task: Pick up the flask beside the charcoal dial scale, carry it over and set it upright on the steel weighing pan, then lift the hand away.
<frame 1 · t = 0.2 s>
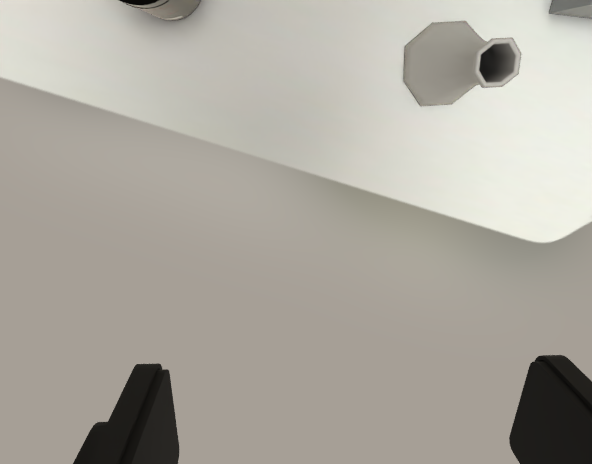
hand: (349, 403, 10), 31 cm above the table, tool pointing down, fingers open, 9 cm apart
flask: (440, 65, 36), on the table
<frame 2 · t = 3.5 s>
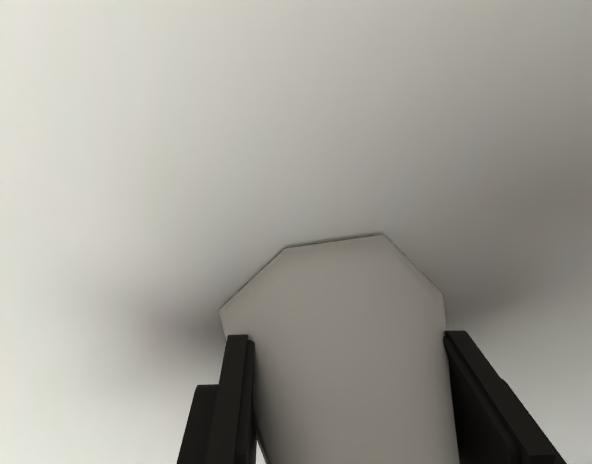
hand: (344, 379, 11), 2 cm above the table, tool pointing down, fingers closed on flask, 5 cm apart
flask: (333, 331, 13), on the table, touching gripper
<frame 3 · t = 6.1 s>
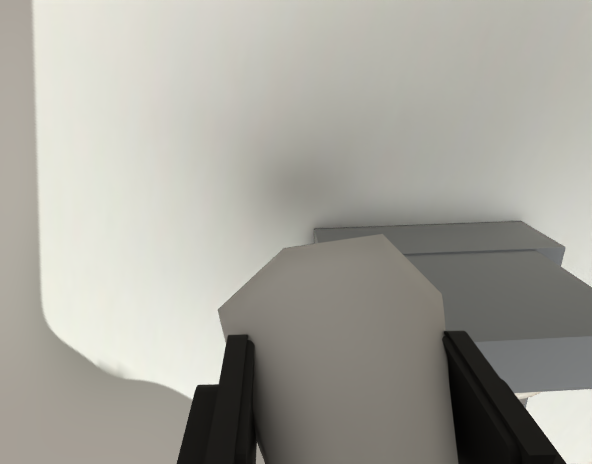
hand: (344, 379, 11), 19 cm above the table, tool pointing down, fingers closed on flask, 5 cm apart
flask: (333, 331, 13), point 17 cm above the table, touching gripper
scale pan: (434, 394, 28), point 6 cm above the table, slide at 0.2 cm
scale: (407, 339, 34), on the table
when the fingers open (10 cm above the table, at t = 9.1 s): flask drops 2 cm, resting on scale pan.
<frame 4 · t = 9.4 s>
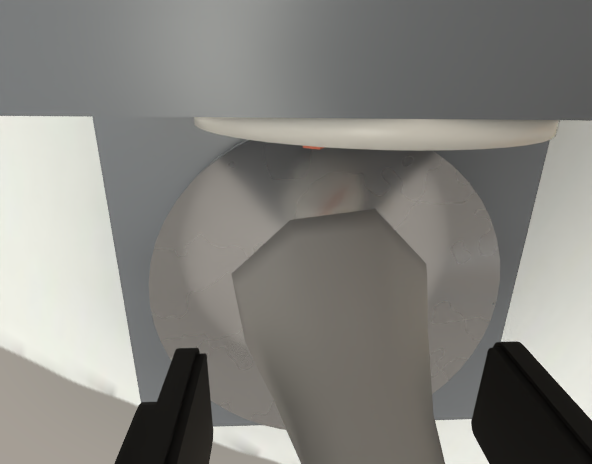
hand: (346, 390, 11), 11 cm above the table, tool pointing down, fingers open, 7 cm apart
flask: (331, 296, 15), point 6 cm above the table, touching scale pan
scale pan: (325, 295, 15), point 6 cm above the table, slide at 0.6 cm, touching flask
scale: (312, 237, 21), on the table
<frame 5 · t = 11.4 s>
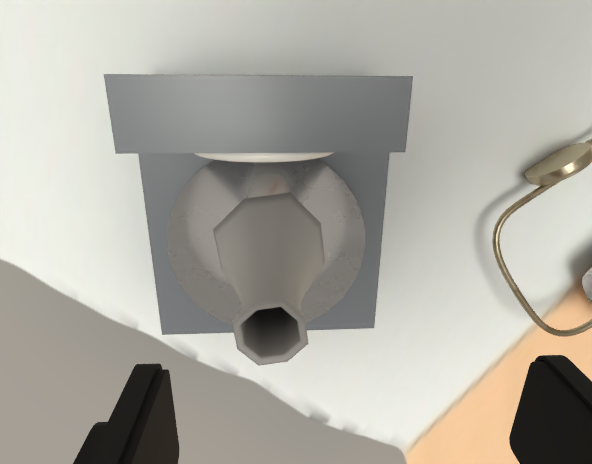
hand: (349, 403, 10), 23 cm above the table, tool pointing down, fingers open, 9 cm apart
flask: (270, 243, 26), point 6 cm above the table, touching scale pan
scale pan: (267, 243, 27), point 6 cm above the table, slide at 0.6 cm, touching flask
scale: (268, 216, 32), on the table
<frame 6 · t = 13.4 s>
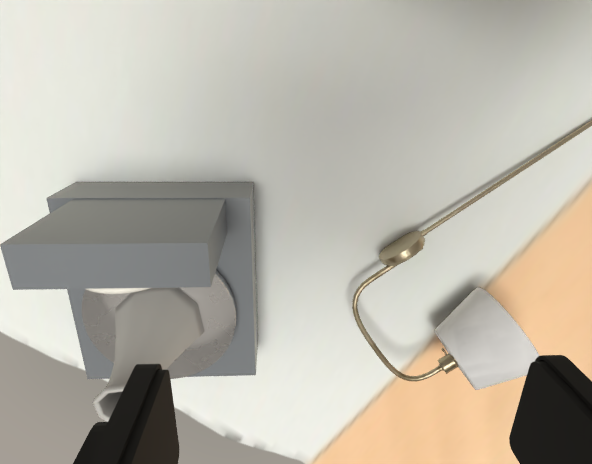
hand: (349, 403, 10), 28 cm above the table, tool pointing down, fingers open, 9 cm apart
light fixture: (535, 232, 41), on the table
flask: (162, 316, 35), point 6 cm above the table, touching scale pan
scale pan: (161, 316, 35), point 6 cm above the table, slide at 0.6 cm, touching flask
scale: (176, 283, 40), on the table
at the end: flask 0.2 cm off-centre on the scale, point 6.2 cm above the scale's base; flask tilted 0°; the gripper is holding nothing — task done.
